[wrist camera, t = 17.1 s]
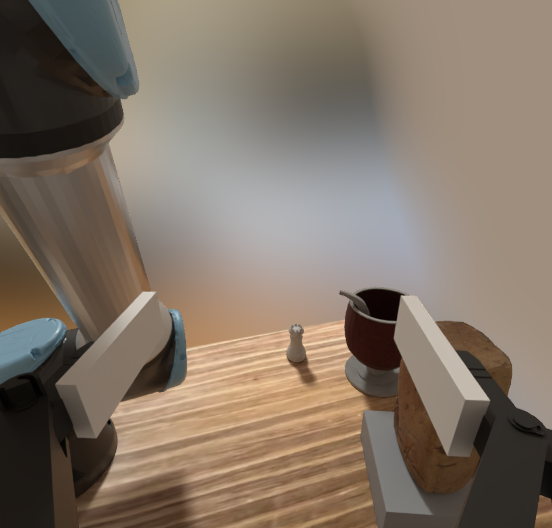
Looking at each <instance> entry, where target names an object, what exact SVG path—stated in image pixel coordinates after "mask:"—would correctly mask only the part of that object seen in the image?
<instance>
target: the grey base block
mask: <svg viewBox="0 0 552 528" xmlns="http://www.w3.org/2000/svg"><path fill="white" fill-rule="evenodd" d="M361 442H362V447H363V452H364V457H365V462H366V468H367V473H368V478H369V483H370V488H371V494H372V499H373V504H374V509H375V514H376V520H377V525H378V528H455V526H456V523H457V520H458V518H459V515H460V512H461V509H462V506H463V504H464V501H465V498H466V495H467V492H468V489H469V487H470V484H471V481H472V479H471V480H470V481H469V482H468V483H467V484H466V485H465V486H464V487H463V488H461V489H459V490H457V491H455V492H452V493H444V494H438V493H428V492H426V491H424V490H422V489H421V488H420V487H419V486H418V484H417V483H416V481H415V479H414V478H413V477H412V475H411V474H410V472H409V470H408V468H407V466H406V464H405V462H404V460H403V457H402V455H401V452H400V449H399V446H398V443H397V439H396V434H395V429H394V412H392V411H371V410H364V413H363V420H362V428H361Z"/></svg>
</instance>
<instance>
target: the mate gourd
mask: <svg viewBox="0 0 552 528" xmlns="http://www.w3.org/2000/svg"><path fill="white" fill-rule="evenodd" d="M339 294H340V295H344V296H346V297H347V298H349V299H350V301H349V304H348V307H347V311H346V316H345V327H344V328H345V337H346V342H347V346H348V348H349V350H350V351H351V353H352V354H353V356H352V357H350V358H349V359H348V360H347V362H346V365H345V374H346V377H347V379H348V380H349V382H350V383H351V384H352V385H353V386H354V387H355V388H356V389H358V390H359V391H361V392H363V393H365V394H368V395H370V396H374V397H382V398H387V397H393V396H396V395H398V378H399V369H400V363H401V359H402V356H401V353H400V351H399V349H398V347H397V345H396V342H395V340H394V334H395V328H396V322H397V316H398V310H399V305H400V299H401V296H410V295H408V294H406V293H404V292H401V291H398V290H395V289H390V288H383V287H369V288H363V289H360V290H357V291H356V292H354V293H353V294H351V293H349V292H345V291H340V293H339Z"/></svg>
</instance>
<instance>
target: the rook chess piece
mask: <svg viewBox="0 0 552 528" xmlns="http://www.w3.org/2000/svg"><path fill="white" fill-rule="evenodd" d="M303 332H304V330H303V329H302V326H301V325H300V324H299V325H298V326H297V324H294V326H293V325H291V328H290V329H289V333H290V334H291V335H290V338H291V342H290V345H289V347H288V349H287V354H286V355H287V358H288V359H289V360H290V361H292V362H301V361H302V360H304V359H305V357H306V351H305V348H304V346H303V345H302V338H303V336H302V334H303Z"/></svg>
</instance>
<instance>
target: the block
mask: <svg viewBox="0 0 552 528" xmlns="http://www.w3.org/2000/svg"><path fill="white" fill-rule="evenodd" d="M435 323H436V325H437V326H438V327H439V329H440V330H441V332H442V333H443V334H444V336H445V337H446V339H447V340H448V342H449V343H450V344H451V346H452V347H453V349H454V350H463V351H468V352H469V353H471V354H472V355H473V356H475V357H476V358H477V359H478V360H479V361H480V362H481V363H482V365H483V366H484V367H485V368H486V371H488V372H489V374H490V375H491V376H492V379H494V380H495V381H496V383H497V384H498V385H499V386H500V388H501V389H502V390H503V392H504V393H505V394H506V395H507V396H508V391H509V388H510V385H511V379H512V364H511V362H510V359H509V357H508V356H507V355H506V354H505V353H504V352H502V351H501V350H500V349H499V348H498V347H497V346H495V345H494V344H493V342H492V341H491V340H490V339H489V338H488V337H487V336H485V335H484V334H483V333H482V332H480V331H479V330H477V329H475V328H474V327H472V326H470V325H468V324H466V323H464V322H453V321H437V322H435ZM394 429H395V434H396V439H397V443H398V446H399V449H400V452H401V455H402V457H403V460H404V462H405V464H406V466H407V468H408V470H409V472H410V474H411V475H412V477H413V478H414V479H415V481H416V483H417V484H418V486H419V487H420V488H421V489H422V490H424V491H426V492H428V493H438V494H444V493H452V492H455V491H457V490H459V489H461V488H463V487H464V486H465V485H466V484H467V483H468V482H469V481H470V480H471V479H472V478H473V474H474V472H475V469H476V467H477V464H478V461H479V459H480V456H479V454H478V452H477V451H476V449H475V447H474V446H473V449H472V452H471V454H470V457H459V456H447V454H446V452H445V450H444V448H443V446H442V443H441V441H440V439H439V437H438V435H437V432H436V430H435V428H434V426H433V424H432V421H431V419H430V417H429V415H428V413H427V410H426V408H425V406H424V404H423V402H422V400H421V397H420V395H419V393H418V391H417V389H416V386H415V384H414V382H413V380H412V378H411V375H410V373H409V371H408V369H407V367H406V364H405V362H404V360H403V358H402V359H401V363H400V369H399V378H398V398H397V402H396V405H395V411H394Z"/></svg>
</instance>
